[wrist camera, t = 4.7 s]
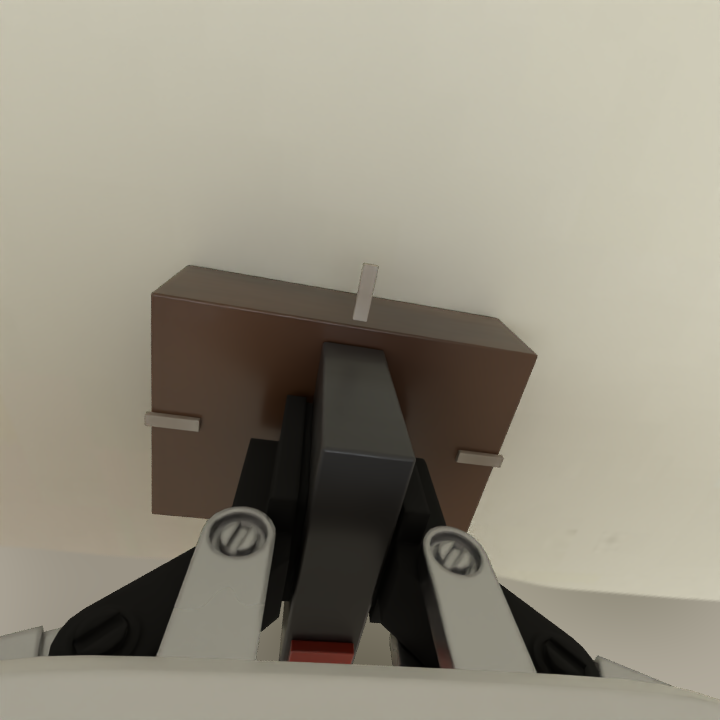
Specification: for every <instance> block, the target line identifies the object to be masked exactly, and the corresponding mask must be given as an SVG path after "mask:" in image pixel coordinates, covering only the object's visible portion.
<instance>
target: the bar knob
mask: <svg viewBox="0 0 720 720" xmlns="http://www.w3.org/2000/svg"><path fill="white" fill-rule="evenodd" d="M415 462H416V458H415V455H414V451H413V448H412V444H411V441H410V438H409V434H408V431H407V428H406V424H405V421H404V418H403V414H402V411H401V408H400V404H399V401H398V398H397V394H396V391H395V388H394V384H393V381H392V378H391V374H390V371H389V367H388V364H387V361H386V357H385V354H384V351H382V350H376V349H369V348H363V347H356V346H350V345H344V344H337V343H331V342H324V343H323V346H322V352H321V357H320V363H319V369H318V374H317V380H316V386H315V391H314V397H313V420H312V438H311V457H310V476H309V493H308V503H307V510H306V515H305V521H304V526H303V531H302V536H301V542H300V547H299V552H298V557H297V562H296V568H295V573H294V578H293V583H292V589H291V594H290V599H289V601H284V612H283V622H282V633H281V644H280V654H279V661H287V662H312V663H334V664H353V661H354V659H355V655H356V652H357V649H358V646H359V642H360V639H361V636H362V633H363V629H364V626H365V623H366V620H367V617H368V613H369V610H370V607H371V604H372V600H373V597H374V594H375V591H376V588H377V584H378V581H379V578H380V575H381V571H382V568H383V565H384V562H385V558H386V555H387V552H388V549H389V546H390V542H391V539H392V536H393V533H394V529H395V526H396V523H397V520H398V516H399V513H400V510H401V507H402V504H403V500H404V497H405V494H406V491H407V487H408V484H409V481H410V478H411V474H412V471H413V468H414V465H415Z"/></svg>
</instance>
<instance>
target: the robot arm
mask: <svg viewBox="0 0 720 720" xmlns="http://www.w3.org/2000/svg"><path fill="white" fill-rule="evenodd" d="M312 420H313V403H307V402H306V397H301V396H293V395H287V398H286V404H285V410H284V416H283V422H282V428H281V434H280V439H279V441H273V440H265V439H257V438H251V439H250V443H249V446H248V450H247V453H246V457H245V461H244V464H243V468H242V472H241V475H240V479H239V483H238V486H237V490H236V494H235V497H234V501H233V505H232V507H231V508H227V509H224V510H222V511H220V512H218V513H216V514H214V515H213V516H212V517H211V518H210V519H209V520H207V522H206V524H205V525H204V527H203V529H202V531H201V534H200V537H199V540H198V542H197V545H196V547H194V548H192V549H190V550H188V551H187V552H185V553H183V554H181V555H179V556H178V557H176V558H174V559H172V560H171V561H169V562H167V563H165V564H163V565H162V566H160V567H158V568H156V569H154V570H153V571H151V572H149V573H147V574H145V575H144V576H142V577H140V578H138V579H137V580H135V581H133V582H131V583H130V584H128V585H126V586H124V587H122V588H120V589H119V590H117V591H115V592H113V593H111V594H110V595H108V596H106V597H104V598H103V599H101V600H99V601H97V602H95V603H94V604H92V605H90V606H88V607H86V608H85V609H83V610H82V611H80V612H79V613H78V614H76V615H75V616H74V617H72V618H70V619H69V620H68V622H67V623H66V624H65V625H64V626H63V627H62V628H58V629H54V630H50V631H46V632H44V631H43V626H40V627H35V628H31V629H28V630H23V631H19V632H15V633H12V634H7V635H3V636H0V720H720V700H719V699H716V698H713V697H710V696H706V695H703V694H700V693H697V692H694V691H691V690H686V689H682V688H677V687H674V686H671V685H669V684H667V683H664V682H662V681H659V680H656V679H654V678H652V677H649V676H647V675H644V674H642V673H640V672H637V671H635V670H632V669H630V668H627V667H625V666H623V665H620V664H618V663H615V662H612V661H610V660H608V659H605V658H603V657H600V656H597V657H596V659H595V660H592V658H591V657H590V656H589V654H588V653H587V652H586V651H585V649H584V648H583V647H582V646H581V645H580V644H579V643H577V642H576V641H575V640H574V639H573V638H572V637H570V636H569V635H568V634H566V633H565V632H564V631H562V630H561V629H560V628H558V627H557V626H556V625H554V624H553V623H552V622H550V621H549V620H548V619H546V618H545V617H544V616H542V615H541V614H540V613H538V612H537V611H536V610H534V609H533V608H532V607H530V606H529V605H528V604H526V603H525V602H524V601H522V600H521V599H520V598H518V597H517V596H516V595H514V594H513V593H511V592H510V591H509V590H508V589H506V588H505V587H504V586H502V585H501V584H500V583H499V582H498V580H497V577H496V575H495V573H494V570H493V568H492V565H491V563H490V561H489V558H488V556H487V554H486V552H485V550H484V549H483V547H482V545H481V544H480V543H479V542H478V541H477V540H476V539H475V538H474V537H472V536H471V535H469V534H468V533H466V532H465V531H462V530H460V529H458V528H455V527H450V526H447V525H446V522H445V519H444V516H443V513H442V510H441V507H440V504H439V501H438V498H437V495H436V492H435V489H434V485H433V482H432V479H431V476H430V473H429V470H428V467H427V464H426V462H425V460H424V459H423V458H416V457H415V458H416V462H415V465H414V468H413V471H412V474H411V478H410V481H409V484H408V487H407V491H406V494H405V497H404V500H403V504H402V507H401V510H400V513H399V516H398V520H397V523H396V526H395V529H394V533H393V536H392V539H391V542H390V546H389V549H388V552H387V555H386V558H385V562H384V565H383V568H382V571H381V575H380V578H379V581H378V584H377V588H376V591H375V594H374V597H373V600H372V604H371V607H370V610H369V617H370V622H372V623H381V624H382V625H383V626H384V627H385V628H386V629H387V630H388V631H389V632H390V633H391V634H390V651H391V657H392V664H393V666H379V665H378V666H376V665H355V664H334V663H312V662H287V661H261V660H260V661H259V660H256V657H257V650H258V645H259V639H260V632H261V631H263V630H264V629H265V628H266V627H268V626H269V625H270V624H271V623H272V622H274V621H275V620H276V619H277V618H278V617H279V614H280V608H281V602H282V601H289V599H290V594H291V589H292V583H293V578H294V573H295V568H296V562H297V557H298V552H299V547H300V542H301V536H302V531H303V526H304V521H305V515H306V510H307V503H308V493H309V476H310V457H311V438H312Z"/></svg>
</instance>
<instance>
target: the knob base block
mask: <svg viewBox="0 0 720 720" xmlns="http://www.w3.org/2000/svg"><path fill="white" fill-rule="evenodd" d="M377 272H378V265H373V264H368V263H363V267H362V272H361V277H360V282H359V287H358V292H357V294H352V293H347V292H341V291H335V290H329V289H323V288H318V287H312V286H306V285H300V284H294V283H289V282H283V281H277V280H271V279H266V278H260V277H254V276H248V275H242V274H237V273H231V272H225V271H219V270H213V269H208V268H202V267H196V266H190V265H188V266H186V267H185V268H184V269H182V270H181V271H180V272H179V273H177V274H176V275H175V276H173V277H172V278H171V279H169V280H168V281H167V282H165V283H164V284H163V285H162V286H160V287H159V288H158V289H156V290H155V291H154V292H152V294H151V397H152V412H146V413H145V426H152V514H159V515H171V516H182V517H193V518H204V519H210V518H211V517H212V516H213V515H214V514H216V513H218V512H220V511H222V510H224V509H227V508H231V507H232V505H233V501H234V497H235V494H236V490H237V486H238V483H239V479H240V475H241V472H242V468H243V464H244V461H245V457H246V453H247V450H248V446H249V443H250V439H251V438H257V439H265V440H273V441H279V439H280V434H281V428H282V422H283V416H284V410H285V404H286V398H287V395H293V396H301V397H306V402H307V403H313V397H314V391H315V386H316V380H317V374H318V369H319V363H320V357H321V352H322V346H323V343H324V342H331V343H337V344H344V345H350V346H356V347H363V348H369V349H376V350H382V351H384V354H385V357H386V361H387V364H388V367H389V371H390V374H391V378H392V381H393V384H394V388H395V391H396V394H397V398H398V401H399V404H400V408H401V411H402V414H403V418H404V421H405V424H406V428H407V431H408V434H409V438H410V441H411V444H412V448H413V451H414V455H415V457H416V458H423V459H424V460H425V462H426V464H427V467H428V470H429V473H430V476H431V479H432V482H433V485H434V489H435V492H436V495H437V498H438V501H439V504H440V507H441V510H442V513H443V516H444V519H445V522H446V525H447V526H450V527H455V528H458V529H460V530H462V531H465V532H466V533H467V531H468V528H469V526H470V523H471V521H472V518H473V516H474V513H475V511H476V508H477V506H478V503H479V501H480V498H481V496H482V493H483V491H484V488H485V486H486V483H487V481H488V478H489V476H490V473H491V471H492V469H493V467H501V464H502V462H503V459H504V458H503V456H502V455H498V454H499V451H500V449H501V446H502V444H503V441H504V439H505V436H506V434H507V431H508V429H509V426H510V424H511V421H512V419H513V416H514V414H515V411H516V409H517V406H518V404H519V402H520V399H521V397H522V394H523V392H524V389H525V387H526V384H527V382H528V379H529V377H530V374H531V372H532V369H533V367H534V364H535V362H536V359H537V354H536V353H534V352H533V351H532V350H531V349H530V348H529V347H528V346H527V345H526V344H525V343H524V342H523V341H522V340H520V339H519V338H518V337H517V336H516V335H515V334H514V333H513V332H512V331H511V330H510V329H509V328H508V327H506V326H505V325H504V324H503V323H502V322H501V321H500V320H499V319H497V318H492V317H486V316H480V315H474V314H468V313H463V312H457V311H451V310H445V309H439V308H434V307H428V306H422V305H416V304H410V303H405V302H399V301H393V300H387V299H381V298H376V297H372V295H373V291H374V286H375V281H376V277H377Z"/></svg>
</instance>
